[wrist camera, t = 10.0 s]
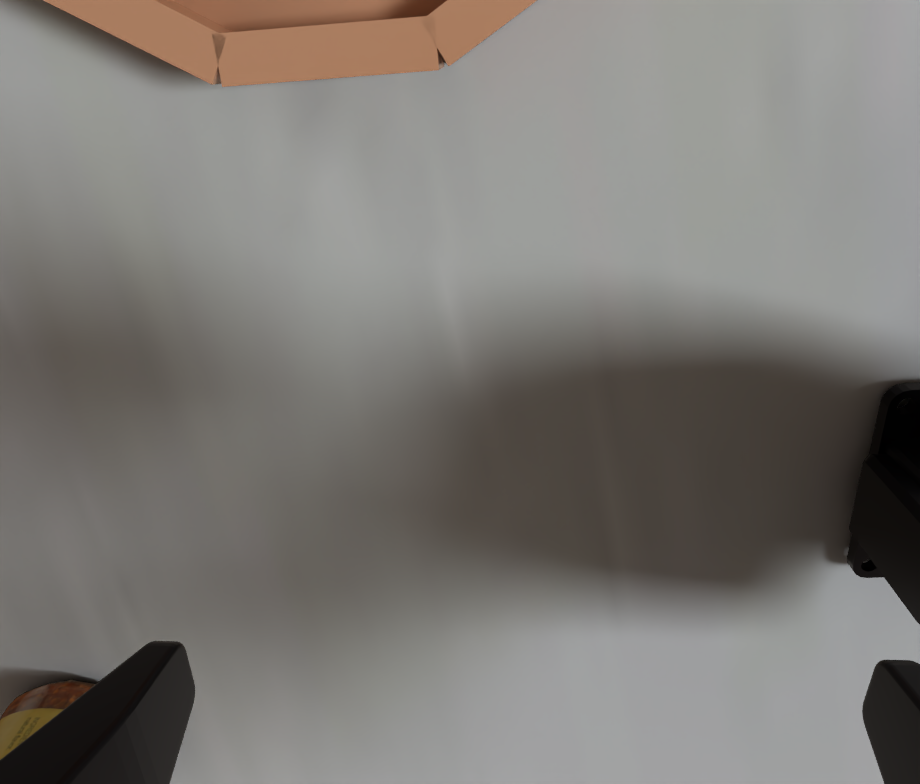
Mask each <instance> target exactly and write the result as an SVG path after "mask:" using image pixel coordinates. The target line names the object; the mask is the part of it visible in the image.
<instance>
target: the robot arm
mask: <svg viewBox="0 0 920 784" xmlns="http://www.w3.org/2000/svg"><path fill="white" fill-rule="evenodd" d="M907 398H909V401H908V403H907V404H906V405H904V406H903V407H900V408H897V407H898V405H899V403H900V402H901V401H902V400H904V399H907ZM849 529H850V532H851V533H852V536H851V541H850V546H849V550H848V555H847V562H848V564H849V565H850V567H851V568H852V570H853V571H854V572H855V574H856V575H858V576H860V577H865V578H873V577H884V578H885V579H886V580H887V582H888V583H889V584H890V586H891V587H892V589H893V590H894V591H895V593H896V594H897V595H898V597H899V598H900V599H901V601H902V602H903V603H904V605H905V606H906V607H907V609H908V610H909V612H910V613H911V614H912V616H913V617H914V618H915V620H916V621H917V622H918V623H919V624H920V383H904V384H899V385H895V386H893V387H892V388H890V389H888V390H887V392H886V393H885V394H884V395H883V397H882V399H881V403H880V407H879V412H878V417H877V421H876V426H875V430H874V435H873V440H872V444H871V449H870V454H869V456H868V457H867V458H866V459H865V461H864V462H863V465H862V470H861V475H860V479H859V484H858V489H857V493H856V498H855V503H854V508H853V512H852V517H851V522H850V526H849ZM867 559H870V560H869V561H867V562H865V563H863V562H864V561H865V560H867ZM194 697H195V684H194V680H193V676H192V672H191V668H190V665H189V661H188V657H187V653H186V650H185V647H184V646H183V644H182V643H180V642H174V641H153V642H150V643H148V644H146V645H145V646H144V647H142V648H141V649H140V650H139V651H137V652H136V653H135V654H133V655H132V656H131V657H130V658H128V659H127V660H126V661H125V662H123V663H122V664H121V665H120V666H118V667H117V668H116V669H114V670H113V671H112V672H111V673H109V674H108V675H107V676H106V677H104V678H103V679H102V680H101V681H99V682H98V683H97V684H95V685H94V686H93V687H92V688H90V689H89V690H88V691H87V692H85V693H84V694H83V695H82V696H80V697H79V698H78V699H76V700H75V701H74V702H73V703H71V704H70V705H69V706H68V707H66V708H65V709H64V710H63V711H61V712H60V713H59V714H57V715H56V716H55V717H54V718H52V719H51V720H50V721H49V722H47V723H46V724H45V725H44V726H42V727H41V728H40V729H38V730H37V731H36V732H35V733H33V734H32V735H31V736H30V737H28V738H27V739H26V740H24V741H23V742H22V743H21V744H19V745H18V746H17V747H16V748H14V749H13V750H12V751H11V752H9V753H8V754H7V755H5V756H4V757H3V758H2V759H0V784H170V780H171V777H172V774H173V770H174V767H175V764H176V760H177V757H178V753H179V750H180V747H181V743H182V740H183V737H184V733H185V730H186V727H187V723H188V720H189V717H190V713H191V710H192V706H193V703H194ZM862 712H863V720H864V724H865V728H866V731H867V734H868V736H869V739H870V742H871V745H872V748H873V751H874V754H875V757H876V760H877V763H878V766H879V769H880V772H881V775H882V778H883V781H884V784H920V664H918V663H916V662H914V661H909V660H882V661H880V662H879V663H878V664H876V666H875V669H874V672H873V675H872V678H871V681H870V684H869V687H868V690H867V693H866V696H865V699H864V702H863V710H862Z"/></svg>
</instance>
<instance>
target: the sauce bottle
mask: <svg viewBox="0 0 920 784" xmlns="http://www.w3.org/2000/svg"><path fill="white" fill-rule="evenodd" d="M94 685H95V684H92V683H86V682H81V681H75V680H72V679H71V680H68V681H62V682H56V683H50V684H47V685H44V686H41V687H38V688H35V689H33V690H31V691H28V692H25V693H24V694H22V695H20V696H18V697H17V698H16V699H15V700H14V701H13V702H12V703H11V704H10V705H9V706H8V708H7V709H6V710H5V712H4V713H3V715H2V717H1V719H0V759H2V758H3V757H4V756H5V755H7V754H8V753H9V752H11V751H12V750H13V749H14V748H16V747H17V746H18V745H19V744H21V743H22V742H23V741H24V740H26V739H27V738H28V737H30V736H31V735H32V734H33V733H35V732H36V731H37V730H38V729H40V728H41V727H42V726H44V725H45V724H46V723H47V722H49V721H50V720H51V719H52V718H54V717H55V716H56V715H57V714H59V713H60V712H61V711H63V710H64V709H65V708H66V707H68V706H69V705H70V704H71V703H73V702H74V701H75V700H76V699H78V698H79V697H80V696H82V695H83V694H84V693H85V692H87V691H88V690H89V689H90V688H92V687H93V686H94Z"/></svg>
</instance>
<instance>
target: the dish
mask: <svg viewBox="0 0 920 784" xmlns="http://www.w3.org/2000/svg"><path fill="white" fill-rule="evenodd" d="M43 1H45V2H47V3H49V4H51V5H53V6H55V7H58V8H60V9H62V10H64V11H66V12H68V13H70V14H72V15H74V16H76V17H78V18H80V19H82V20H84V21H86V22H88V23H90V24H92V25H94V26H96V27H98V28H100V29H102V30H104V31H106V32H108V33H110V34H112V35H114V36H116V37H118V38H120V39H122V40H124V41H126V42H128V43H130V44H132V45H134V46H136V47H138V48H140V49H142V50H144V51H146V52H148V53H150V54H152V55H154V56H156V57H158V58H160V59H162V60H164V61H166V62H168V63H170V64H172V65H174V66H176V67H178V68H180V69H182V70H184V71H186V72H188V73H190V74H192V75H194V76H196V77H198V78H200V79H202V80H204V81H206V82H208V83H210V84H212V85H213V84H219V83H222V87H226V86H239V85H252V84H265V83H277V82H290V81H303V80H316V79H329V78H342V77H355V76H368V75H381V74H393V73H406V72H419V71H432V70H440V69H441V68H443V67H444V60H445V61H446V63H447V64H448V66H450V65H451V64H453V63H454V62H455V61H457V60H458V59H459V58H461V57H462V56H463V55H465V54H466V53H468V52H469V51H470V50H472V49H473V48H474V47H476V46H477V45H478V44H480V43H481V42H482V41H484V40H485V39H486V38H488V37H489V36H490V35H492V34H493V33H494V32H496V31H497V30H498V29H500V28H501V27H502V26H504V25H505V24H506V23H508V22H509V21H510V20H512V19H513V18H514V17H516V16H517V15H518V14H520V13H521V12H522V11H524V10H525V9H526V8H528V7H529V6H530V5H532V4H533V3H534V2H536V1H537V0H43Z"/></svg>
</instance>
